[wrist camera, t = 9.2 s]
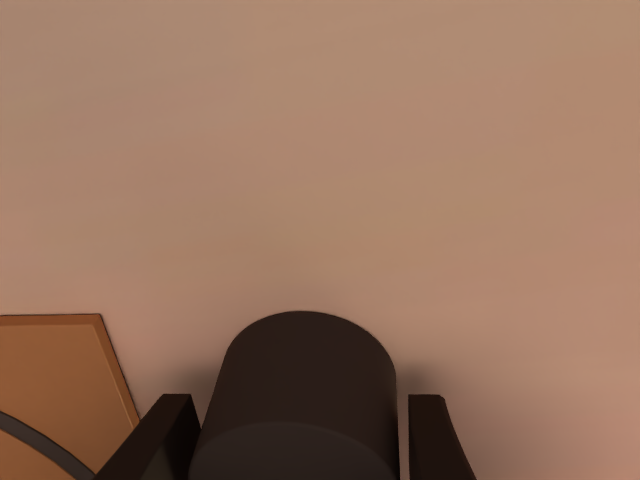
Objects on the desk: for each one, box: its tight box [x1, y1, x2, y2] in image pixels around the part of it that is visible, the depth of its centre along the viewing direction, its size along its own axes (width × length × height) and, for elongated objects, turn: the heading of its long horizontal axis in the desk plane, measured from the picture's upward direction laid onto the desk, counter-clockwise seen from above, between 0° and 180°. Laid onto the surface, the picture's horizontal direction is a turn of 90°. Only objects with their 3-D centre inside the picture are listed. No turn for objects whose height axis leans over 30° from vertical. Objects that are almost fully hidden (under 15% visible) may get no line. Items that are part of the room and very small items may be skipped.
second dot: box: [188, 312, 400, 480], centre depth 12 cm, size 4×4×3 cm
